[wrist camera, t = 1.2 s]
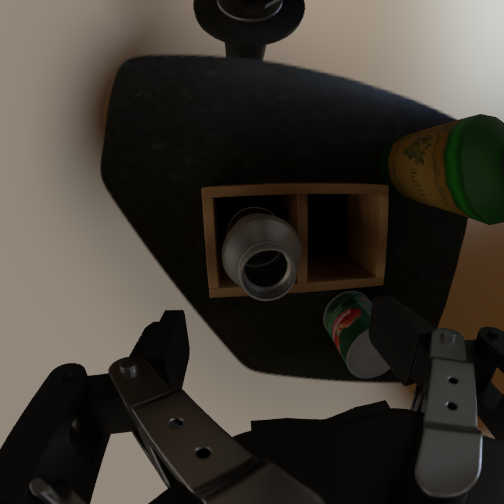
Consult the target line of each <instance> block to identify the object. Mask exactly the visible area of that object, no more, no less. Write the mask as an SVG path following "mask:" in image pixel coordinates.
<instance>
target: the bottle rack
mask: <svg viewBox="0 0 504 504" xmlns="http://www.w3.org/2000/svg"><path fill="white" fill-rule="evenodd" d="M307 194H347V234H346V255H332V256H314V257H308V203H307ZM388 194H389V186H388V185H379V184H364V183H336V182H297V183H255V184H232V185H214V186H208V187H203V188H202V198H203V199H202V201H203V217H204V232H205V246H206V259H207V271H208V282H209V294H210V298H213V297H235V296H249V295H248V294H247V293H246V292H245V291H244V289H243V288H242V287H241V286H239V285H238V284H236V283H235V282H234V281H233V280H232V279H231V278H230V277H229V276H228V274H227V273H226V271H225V269H224V266H223V262H222V239H221V222H220V204H219V197H232V196H255V195H282V219H283V220H285V221H286V222H287V223H289V224H290V225H291V226H292V227H293V228H294V229H295V231H296V232H297V234H298V236H299V238H300V241H301V247H302V255H301V261H300V264H299V267H298V269H297V273H296V279H295V283H294V285H293V286H292V288H291V289H290V290H289V292H287V293H300V292H313V291H325V290H337V289H348V288H359V287H369V286H378V285H383V282H384V272H385V261H386V247H387V230H388Z"/></svg>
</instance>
